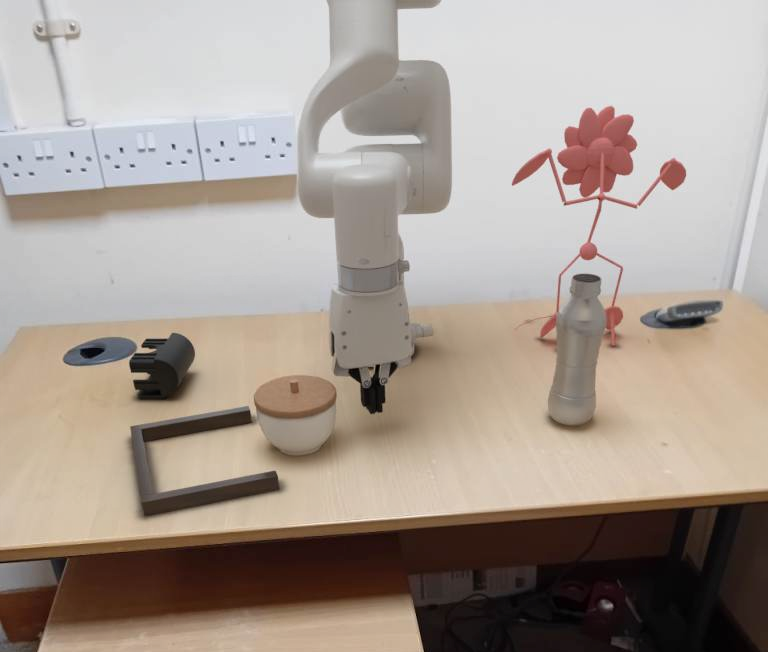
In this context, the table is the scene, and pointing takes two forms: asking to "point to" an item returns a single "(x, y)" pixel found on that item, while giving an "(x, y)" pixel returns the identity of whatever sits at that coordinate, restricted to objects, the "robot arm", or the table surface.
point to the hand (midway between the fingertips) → (373, 409)
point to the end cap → (162, 366)
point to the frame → (201, 492)
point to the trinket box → (296, 412)
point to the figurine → (598, 179)
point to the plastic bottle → (577, 352)
